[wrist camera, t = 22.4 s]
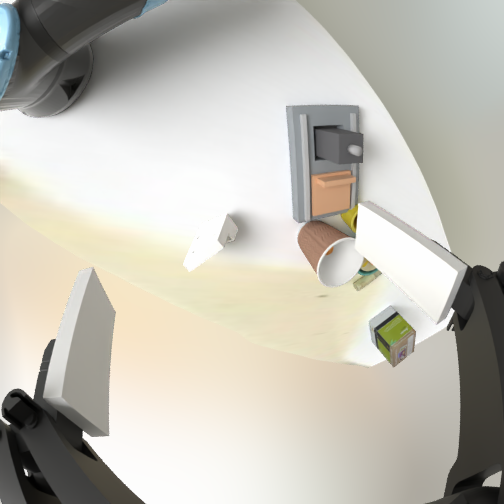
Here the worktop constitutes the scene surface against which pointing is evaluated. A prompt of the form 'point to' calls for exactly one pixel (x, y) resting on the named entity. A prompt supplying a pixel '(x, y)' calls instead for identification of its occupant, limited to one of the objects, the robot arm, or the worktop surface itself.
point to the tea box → (392, 335)
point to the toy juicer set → (367, 267)
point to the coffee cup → (335, 264)
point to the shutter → (331, 191)
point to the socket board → (306, 160)
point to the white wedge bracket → (210, 240)
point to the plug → (338, 145)
